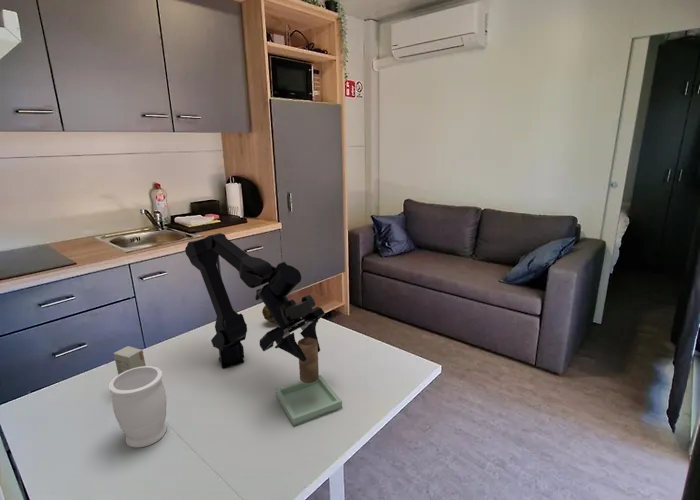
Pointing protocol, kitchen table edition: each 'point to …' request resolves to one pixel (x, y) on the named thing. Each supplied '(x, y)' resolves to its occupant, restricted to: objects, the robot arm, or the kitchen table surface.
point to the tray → (308, 400)
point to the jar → (140, 405)
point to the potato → (267, 314)
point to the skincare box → (129, 359)
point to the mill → (309, 360)
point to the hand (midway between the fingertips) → (312, 356)
